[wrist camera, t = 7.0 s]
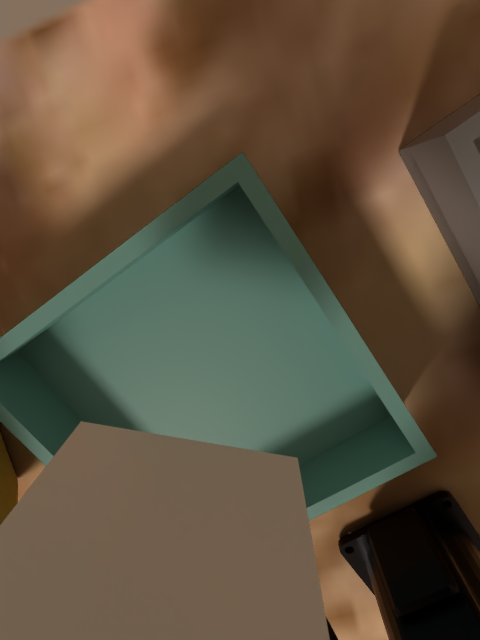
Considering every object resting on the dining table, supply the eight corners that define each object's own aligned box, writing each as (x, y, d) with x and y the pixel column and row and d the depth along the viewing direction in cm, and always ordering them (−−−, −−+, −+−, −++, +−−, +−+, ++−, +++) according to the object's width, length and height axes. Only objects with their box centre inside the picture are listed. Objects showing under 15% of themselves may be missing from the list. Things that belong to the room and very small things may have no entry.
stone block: (297, 457, 8) (357, 792, 4) (256, 608, 10) (261, 979, 5) (81, 421, 8) (-151, 718, 4) (74, 579, 10) (-93, 933, 5)
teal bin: (401, 407, 17) (437, 456, 14) (184, 524, 20) (171, 589, 17) (244, 163, 14) (242, 151, 11) (11, 340, 17) (-48, 374, 13)
